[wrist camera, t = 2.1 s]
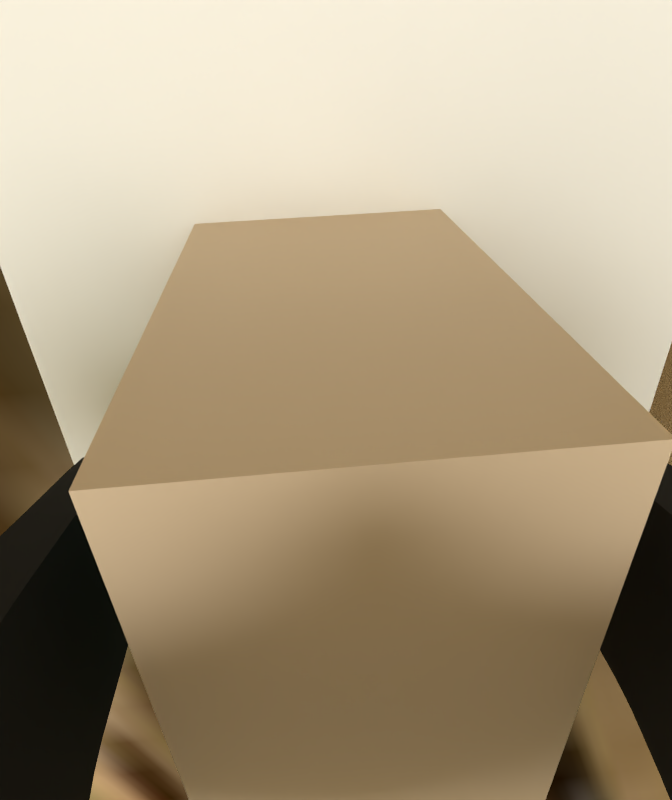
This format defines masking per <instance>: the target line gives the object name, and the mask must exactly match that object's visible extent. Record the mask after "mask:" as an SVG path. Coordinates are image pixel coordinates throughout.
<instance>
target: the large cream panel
mask: <svg viewBox="0 0 672 800" xmlns="http://www.w3.org/2000/svg"><path fill="white" fill-rule="evenodd" d="M433 209H441V210H442V211H443V212H444V213H445V214H446V215H447V216H448V217H449V218H450V219H451V220H452V221H453V222H454V223H455V224H456V225H457V226H458V227H459V228H460V229H461V230H462V231H463V232H464V233H465V234H466V235H467V236H469V237H470V238H471V239H472V240H473V241H474V242H475V243H476V244H477V245H478V246H479V247H480V248H481V249H482V250H483V251H484V252H485V253H486V254H487V255H488V256H489V257H490V258H491V259H492V260H493V261H494V262H495V263H496V264H497V265H498V266H499V267H500V268H501V269H502V270H503V271H504V272H505V273H506V274H507V275H509V276H510V277H511V278H512V279H513V280H514V281H515V282H516V283H517V284H518V285H519V286H520V287H521V288H522V289H523V290H524V291H525V292H526V293H527V294H528V295H529V296H530V297H531V298H532V299H533V300H534V301H535V302H536V303H537V304H538V305H539V306H540V307H541V308H542V309H543V310H544V311H545V312H546V313H547V314H549V315H550V316H551V317H552V318H553V319H554V320H555V321H556V322H557V323H558V324H559V325H560V326H561V327H562V328H563V329H564V330H565V331H566V332H567V333H568V334H569V335H570V336H571V337H572V338H573V339H574V340H575V341H576V342H577V343H578V344H579V345H580V346H581V347H582V348H583V349H584V350H585V351H586V352H587V353H589V354H590V355H591V356H592V357H593V358H594V359H595V360H596V361H597V362H598V363H599V364H600V365H601V366H602V367H603V368H604V369H605V370H606V371H607V372H608V373H609V374H610V375H611V376H612V377H613V378H614V379H615V380H616V381H617V382H618V383H619V384H620V385H621V386H622V387H623V388H624V389H625V390H626V391H628V392H629V393H630V394H631V395H632V396H633V397H634V398H635V399H636V400H637V401H638V402H639V403H640V404H641V405H642V406H643V407H644V408H645V409H646V410H647V411H648V412H649V411H650V408H651V405H652V402H653V398H654V395H655V392H656V389H657V386H658V383H659V380H660V377H661V374H662V370H663V367H664V364H665V361H666V358H667V355H668V352H669V349H670V345H671V342H672V0H0V267H1V269H2V272H3V275H4V277H5V280H6V283H7V285H8V288H9V291H10V294H11V296H12V299H13V302H14V304H15V307H16V310H17V312H18V315H19V318H20V321H21V323H22V326H23V329H24V331H25V334H26V337H27V339H28V342H29V345H30V347H31V350H32V353H33V356H34V358H35V361H36V364H37V366H38V369H39V372H40V374H41V377H42V380H43V383H44V385H45V388H46V391H47V393H48V396H49V399H50V401H51V404H52V407H53V410H54V412H55V415H56V418H57V420H58V423H59V426H60V428H61V431H62V434H63V436H64V439H65V442H66V445H67V447H68V450H69V453H70V455H71V458H72V461H73V463H74V465H75V464H76V463H77V462H78V461H79V460H81V459H82V458H83V457H85V455H86V453H87V451H88V449H89V447H90V445H91V442H92V440H93V438H94V436H95V434H96V432H97V430H98V428H99V425H100V423H101V421H102V419H103V417H104V415H105V413H106V411H107V409H108V406H109V404H110V402H111V400H112V398H113V396H114V394H115V392H116V390H117V387H118V385H119V383H120V381H121V379H122V377H123V375H124V373H125V370H126V368H127V366H128V364H129V362H130V360H131V358H132V356H133V354H134V351H135V349H136V347H137V345H138V343H139V341H140V339H141V337H142V334H143V332H144V330H145V328H146V326H147V324H148V322H149V320H150V318H151V315H152V313H153V311H154V309H155V307H156V305H157V303H158V301H159V299H160V296H161V294H162V292H163V290H164V288H165V286H166V284H167V282H168V279H169V277H170V275H171V273H172V271H173V269H174V267H175V265H176V263H177V260H178V258H179V256H180V254H181V252H182V250H183V248H184V246H185V244H186V241H187V239H188V237H189V235H190V233H191V231H192V229H193V227H194V224H200V223H217V222H234V221H250V220H267V219H284V218H300V217H317V216H334V215H350V214H367V213H383V212H400V211H417V210H433Z"/></svg>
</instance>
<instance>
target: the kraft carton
mask: <svg viewBox="0 0 672 800" xmlns="http://www.w3.org/2000/svg"><path fill="white" fill-rule="evenodd" d="M671 452H672V434H671V433H670V432H669V431H668V430H666V429H665V428H664V427H663V426H662V425H661V424H660V423H659V422H658V421H657V420H656V419H655V418H654V417H653V416H652V415H651V414H650V413H649V412H648V411H647V410H646V409H645V408H644V407H643V406H642V405H641V404H640V403H639V402H638V401H637V400H636V399H635V398H634V397H633V396H632V395H631V394H630V393H629V392H628V391H626V390H625V389H624V388H623V387H622V386H621V385H620V384H619V383H618V382H617V381H616V380H615V379H614V378H613V377H612V376H611V375H610V374H609V373H608V372H607V371H606V370H605V369H604V368H603V367H602V366H601V365H600V364H599V363H598V362H597V361H596V360H595V359H594V358H593V357H592V356H591V355H590V354H589V353H587V352H586V351H585V350H584V349H583V348H582V347H581V346H580V345H579V344H578V343H577V342H576V341H575V340H574V339H573V338H572V337H571V336H570V335H569V334H568V333H567V332H566V331H565V330H564V329H563V328H562V327H561V326H560V325H559V324H558V323H557V322H556V321H555V320H554V319H553V318H552V317H551V316H550V315H549V314H547V313H546V312H545V311H544V310H543V309H542V308H541V307H540V306H539V305H538V304H537V303H536V302H535V301H534V300H533V299H532V298H531V297H530V296H529V295H528V294H527V293H526V292H525V291H524V290H523V289H522V288H521V287H520V286H519V285H518V284H517V283H516V282H515V281H514V280H513V279H512V278H511V277H510V276H509V275H507V274H506V273H505V272H504V271H503V270H502V269H501V268H500V267H499V266H498V265H497V264H496V263H495V262H494V261H493V260H492V259H491V258H490V257H489V256H488V255H487V254H486V253H485V252H484V251H483V250H482V249H481V248H480V247H479V246H478V245H477V244H476V243H475V242H474V241H473V240H472V239H471V238H470V237H469V236H467V235H466V234H465V233H464V232H463V231H462V230H461V229H460V228H459V227H458V226H457V225H456V224H455V223H454V222H453V221H452V220H451V219H450V218H449V217H448V216H447V215H446V214H445V213H444V212H443V211H442V210H441V209H433V210H417V211H400V212H383V213H367V214H350V215H334V216H317V217H300V218H284V219H267V220H250V221H234V222H217V223H200V224H194V227H193V229H192V231H191V233H190V235H189V237H188V239H187V241H186V244H185V246H184V248H183V250H182V252H181V254H180V256H179V258H178V260H177V263H176V265H175V267H174V269H173V271H172V273H171V275H170V277H169V279H168V282H167V284H166V286H165V288H164V290H163V292H162V294H161V296H160V299H159V301H158V303H157V305H156V307H155V309H154V311H153V313H152V315H151V318H150V320H149V322H148V324H147V326H146V328H145V330H144V332H143V334H142V337H141V339H140V341H139V343H138V345H137V347H136V349H135V351H134V354H133V356H132V358H131V360H130V362H129V364H128V366H127V368H126V370H125V373H124V375H123V377H122V379H121V381H120V383H119V385H118V387H117V390H116V392H115V394H114V396H113V398H112V400H111V402H110V404H109V406H108V409H107V411H106V413H105V415H104V417H103V419H102V421H101V423H100V425H99V428H98V430H97V432H96V434H95V436H94V438H93V440H92V442H91V445H90V447H89V449H88V451H87V453H86V455H85V457H84V459H83V461H82V464H81V466H80V468H79V470H78V472H77V474H76V476H75V478H74V480H73V483H72V485H71V487H70V489H69V491H68V492H69V494H70V497H71V499H72V502H73V504H74V507H75V509H76V512H77V515H78V517H79V520H80V522H81V525H82V527H83V530H84V532H85V535H86V538H87V540H88V543H89V545H90V548H91V550H92V553H93V556H94V558H95V561H96V563H97V566H98V568H99V571H100V573H101V576H102V579H103V581H104V584H105V586H106V589H107V591H108V594H109V596H110V599H111V602H112V604H113V607H114V609H115V612H116V614H117V617H118V620H119V622H120V625H121V627H122V630H123V632H124V635H125V637H126V640H127V643H128V645H129V648H130V650H131V653H132V655H133V658H134V660H135V663H136V666H137V668H138V671H139V673H140V676H141V678H142V681H143V683H144V686H145V689H146V691H147V694H148V696H149V699H150V701H151V704H152V707H153V709H154V712H155V714H156V717H157V719H158V722H159V724H160V727H161V730H162V732H163V735H164V737H165V740H166V742H167V745H168V747H169V750H170V753H171V755H172V758H173V760H174V763H175V765H176V768H177V771H178V773H179V776H180V778H181V781H182V783H183V786H184V788H185V791H186V794H187V796H188V799H189V800H545V799H546V796H547V794H548V791H549V788H550V785H551V783H552V780H553V777H554V774H555V772H556V769H557V766H558V763H559V761H560V758H561V755H562V752H563V749H564V747H565V744H566V741H567V738H568V736H569V733H570V730H571V727H572V725H573V722H574V719H575V716H576V714H577V711H578V708H579V705H580V703H581V700H582V697H583V694H584V692H585V689H586V686H587V683H588V681H589V678H590V675H591V672H592V670H593V667H594V664H595V661H596V659H597V656H598V653H599V650H600V648H601V645H602V642H603V639H604V637H605V634H606V631H607V628H608V626H609V623H610V620H611V617H612V615H613V612H614V609H615V606H616V604H617V601H618V598H619V595H620V593H621V590H622V587H623V584H624V582H625V579H626V576H627V573H628V571H629V568H630V565H631V562H632V560H633V557H634V554H635V551H636V549H637V546H638V543H639V540H640V538H641V535H642V532H643V529H644V527H645V524H646V521H647V518H648V516H649V513H650V510H651V507H652V505H653V502H654V499H655V496H656V494H657V491H658V488H659V485H660V482H661V480H662V477H663V474H664V471H665V469H666V466H667V463H668V460H669V458H670V455H671Z"/></svg>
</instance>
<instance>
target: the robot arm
mask: <svg viewBox="0 0 672 800" xmlns="http://www.w3.org/2000/svg"><path fill="white" fill-rule="evenodd" d="M83 459H84V457H83V458H82V459H81V460H79V461H78V462H77V463H76V464H75V465H74V466H73V467H72V468H71V469H69V470H68V471H67V472H66V473H65V474H64V475H63V476H62V477H61V478H60V479H59V480H58V481H57V482H56V483H55V484H54V485H53V486H52V487H51V488H50V489H49V490H48V491H47V492H46V493H45V494H44V495H43V496H42V497H41V498H40V499H39V500H37V501H36V502H35V503H34V504H33V505H32V506H31V507H30V508H29V509H28V510H27V511H26V512H25V513H24V514H23V515H22V516H21V517H20V518H19V519H18V520H17V521H16V522H15V523H14V524H13V525H11V526H10V527H9V528H8V529H7V530H6V531H5V532H4V533H3V534H2V535H1V536H0V800H89V798H90V793H91V787H92V781H93V776H94V771H95V767H96V762H97V758H98V754H99V750H100V745H101V741H102V737H103V733H104V730H105V726H106V723H107V719H108V715H109V712H110V708H111V705H112V701H113V697H114V694H115V690H116V687H117V683H118V679H119V676H120V672H121V668H122V665H123V661H124V658H125V654H126V650H127V647H128V643H127V640H126V637H125V635H124V632H123V630H122V627H121V625H120V622H119V620H118V617H117V614H116V612H115V609H114V607H113V604H112V602H111V599H110V596H109V594H108V591H107V589H106V586H105V584H104V581H103V579H102V576H101V573H100V571H99V568H98V566H97V563H96V561H95V558H94V556H93V553H92V550H91V548H90V545H89V543H88V540H87V538H86V535H85V532H84V530H83V527H82V525H81V522H80V520H79V517H78V515H77V512H76V509H75V507H74V504H73V502H72V499H71V497H70V494H69V492H68V491H69V489H70V487H71V485H72V483H73V480H74V478H75V476H76V474H77V472H78V470H79V468H80V466H81V464H82V461H83ZM600 651H601V652H602V654H603V656H604V658H605V660H606V661H607V663H608V665H609V667H610V669H611V670H612V672H613V674H614V676H615V678H616V679H617V681H618V683H619V685H620V687H621V689H622V691H623V693H624V695H625V697H626V699H627V701H628V703H629V705H630V707H631V709H632V711H633V714H634V716H635V718H636V721H637V723H638V725H639V727H640V730H641V732H642V734H643V737H644V739H645V741H646V743H647V746H648V748H649V750H650V753H651V755H652V757H653V759H654V762H655V764H656V766H657V768H658V771H659V773H660V775H661V778H662V780H663V783H664V785H665V788H666V790H667V793H668V795H669V797H670V800H672V466H671V465H669V464H668V463H667V466H666V469H665V471H664V474H663V477H662V480H661V482H660V485H659V488H658V491H657V494H656V496H655V499H654V502H653V505H652V507H651V510H650V513H649V516H648V518H647V521H646V524H645V527H644V529H643V532H642V535H641V538H640V540H639V543H638V546H637V549H636V551H635V554H634V557H633V560H632V562H631V565H630V568H629V571H628V573H627V576H626V579H625V582H624V584H623V587H622V590H621V593H620V595H619V598H618V601H617V604H616V606H615V609H614V612H613V615H612V617H611V620H610V623H609V626H608V628H607V631H606V634H605V637H604V639H603V642H602V645H601V648H600Z"/></svg>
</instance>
